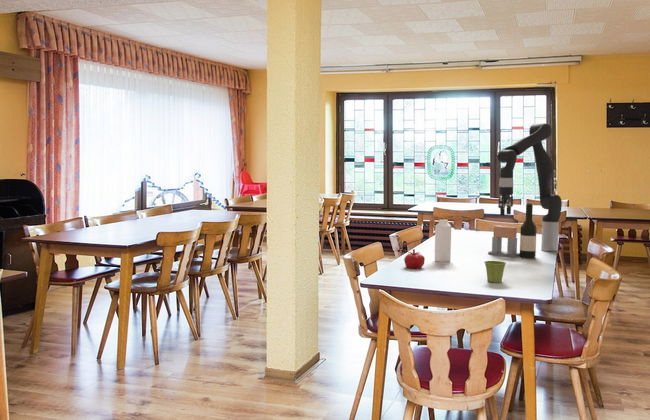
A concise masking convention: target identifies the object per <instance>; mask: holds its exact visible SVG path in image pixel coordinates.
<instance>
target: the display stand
mask: <svg viewBox="0 0 650 420" xmlns="http://www.w3.org/2000/svg"><path fill="white" fill-rule="evenodd" d="M491 240H492V241H491V250H490V251H488V252H487V255H489V256H490V255H491V256H497V257H509V258H518V257H519V258H520V252H518V238H517V237H516V238H515V239H511V238H507V251H504V250H503V251H502V246H503V245H502V242H503V238H500V237H493V236H492V239H491Z"/></svg>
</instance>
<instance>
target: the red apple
mask: <svg viewBox="0 0 650 420" xmlns="http://www.w3.org/2000/svg"><path fill="white" fill-rule="evenodd" d="M415 251H416V250H415V249H414V248H412V251H408V252H407V253H408V254H406V255H405V257H404V258H403V259H404V260H403V261H404V264H405V267H406V268H408V269H417V268H418V269H420V268H421V269H422V267H423V266H424V265H425V256H424V255H422V253H421V252H419V251H417V252H415Z"/></svg>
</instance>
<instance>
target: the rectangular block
mask: <svg viewBox="0 0 650 420" xmlns="http://www.w3.org/2000/svg"><path fill="white" fill-rule="evenodd" d="M517 228H518V227H516V226H504V225H503V226H502V225H494V226H493V236H492V237H500V238H502V239H508V238H511V239H515V238H517V233H518V232H517V231H518V229H517Z"/></svg>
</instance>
